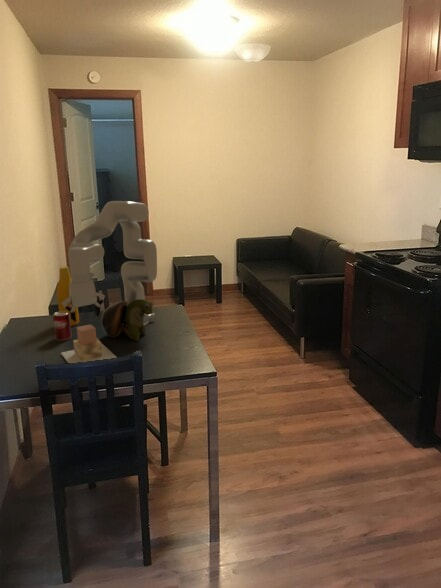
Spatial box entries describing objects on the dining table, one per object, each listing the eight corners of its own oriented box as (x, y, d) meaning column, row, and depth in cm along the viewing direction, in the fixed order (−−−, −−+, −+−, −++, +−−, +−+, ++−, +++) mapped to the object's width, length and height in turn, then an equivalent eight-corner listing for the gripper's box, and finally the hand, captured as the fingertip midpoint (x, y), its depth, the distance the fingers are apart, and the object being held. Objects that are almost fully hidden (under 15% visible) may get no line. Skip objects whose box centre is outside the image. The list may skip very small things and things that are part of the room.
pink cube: (92, 337, 201) (90, 324, 200) (96, 342, 196) (95, 328, 195) (78, 340, 198) (76, 327, 197) (82, 345, 193) (81, 331, 192)
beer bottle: (56, 324, 239) (49, 268, 231) (70, 319, 246) (65, 264, 238) (69, 327, 234) (62, 270, 226) (83, 322, 242) (77, 266, 234)
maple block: (95, 349, 205) (94, 336, 203) (102, 356, 198) (101, 342, 196) (74, 353, 200) (73, 340, 199) (80, 360, 193) (79, 347, 191)
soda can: (67, 341, 216) (64, 316, 213) (52, 340, 218) (49, 315, 215) (74, 335, 223) (72, 311, 220) (60, 334, 225) (57, 310, 221)
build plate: (102, 345, 211) (102, 343, 211) (116, 358, 196) (116, 357, 196) (61, 354, 202) (61, 352, 202) (73, 369, 187) (72, 367, 187)
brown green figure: (118, 339, 231) (165, 328, 225) (105, 350, 216) (154, 338, 210) (105, 303, 228) (153, 290, 222) (91, 311, 213) (141, 298, 207)
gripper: (99, 272, 197) (103, 311, 203) (56, 279, 189) (62, 319, 194) (105, 276, 191) (109, 316, 197) (61, 283, 183) (67, 325, 188)
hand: (85, 318), depth 195 cm, fingers open, 9 cm apart
